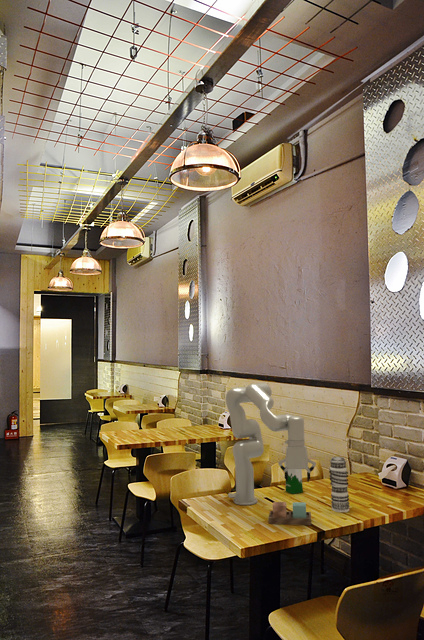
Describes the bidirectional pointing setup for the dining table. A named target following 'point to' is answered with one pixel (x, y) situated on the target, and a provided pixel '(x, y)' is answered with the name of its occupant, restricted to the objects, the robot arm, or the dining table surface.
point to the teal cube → (299, 510)
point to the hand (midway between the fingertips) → (297, 480)
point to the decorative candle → (339, 484)
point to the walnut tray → (290, 519)
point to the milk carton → (294, 481)
